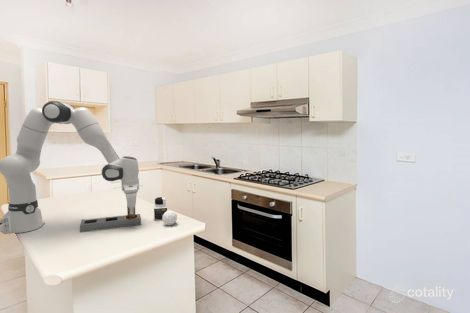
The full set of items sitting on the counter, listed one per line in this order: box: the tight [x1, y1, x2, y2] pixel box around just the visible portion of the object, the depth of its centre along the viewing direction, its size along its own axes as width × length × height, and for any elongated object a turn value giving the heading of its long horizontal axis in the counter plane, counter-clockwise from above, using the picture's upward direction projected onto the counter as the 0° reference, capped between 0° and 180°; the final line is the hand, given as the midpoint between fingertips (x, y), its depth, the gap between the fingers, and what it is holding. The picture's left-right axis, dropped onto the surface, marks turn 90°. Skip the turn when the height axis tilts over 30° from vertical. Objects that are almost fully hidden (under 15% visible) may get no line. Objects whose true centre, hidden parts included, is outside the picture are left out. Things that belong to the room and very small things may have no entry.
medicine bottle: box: [153, 196, 168, 221], centre depth 164 cm, size 7×7×12 cm
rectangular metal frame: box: [79, 213, 142, 233], centre depth 152 cm, size 29×9×4 cm, turn 112°
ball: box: [161, 210, 178, 226], centre depth 153 cm, size 8×8×8 cm
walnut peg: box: [126, 204, 136, 219], centre depth 155 cm, size 4×4×12 cm
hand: (131, 211), depth 155 cm, fingers open, 8 cm apart
